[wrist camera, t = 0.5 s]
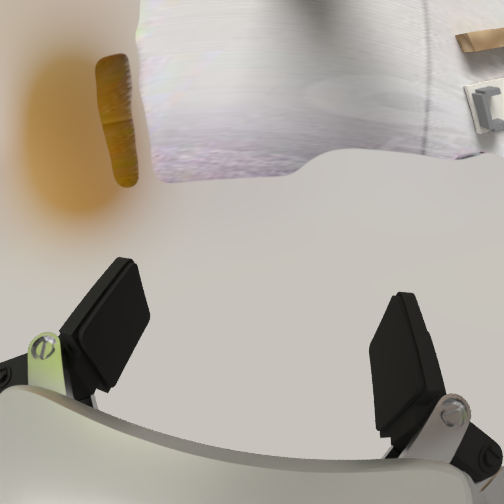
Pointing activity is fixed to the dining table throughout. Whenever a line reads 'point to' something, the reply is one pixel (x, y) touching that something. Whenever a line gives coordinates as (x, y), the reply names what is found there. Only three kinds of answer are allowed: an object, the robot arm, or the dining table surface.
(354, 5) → the dining table surface
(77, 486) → the robot arm
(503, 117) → the mounting board
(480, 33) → the slat
